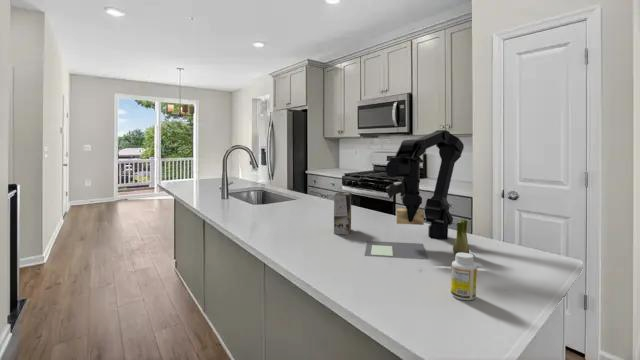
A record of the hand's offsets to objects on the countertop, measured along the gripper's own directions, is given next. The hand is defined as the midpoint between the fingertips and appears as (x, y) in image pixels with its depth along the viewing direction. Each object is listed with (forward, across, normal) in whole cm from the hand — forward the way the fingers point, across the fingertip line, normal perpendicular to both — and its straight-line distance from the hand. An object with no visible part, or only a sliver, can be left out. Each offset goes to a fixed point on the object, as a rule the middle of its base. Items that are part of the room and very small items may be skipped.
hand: (409, 219), depth 124 cm
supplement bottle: (+10, +40, +10) cm, 42 cm away
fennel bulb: (+10, +7, +16) cm, 20 cm away
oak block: (+1, 0, 0) cm, 1 cm away
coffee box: (+10, -18, -26) cm, 33 cm away
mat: (+10, +6, -5) cm, 12 cm away
